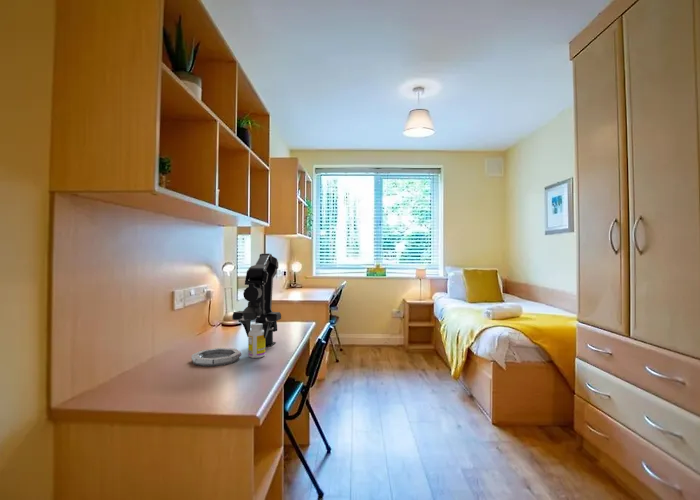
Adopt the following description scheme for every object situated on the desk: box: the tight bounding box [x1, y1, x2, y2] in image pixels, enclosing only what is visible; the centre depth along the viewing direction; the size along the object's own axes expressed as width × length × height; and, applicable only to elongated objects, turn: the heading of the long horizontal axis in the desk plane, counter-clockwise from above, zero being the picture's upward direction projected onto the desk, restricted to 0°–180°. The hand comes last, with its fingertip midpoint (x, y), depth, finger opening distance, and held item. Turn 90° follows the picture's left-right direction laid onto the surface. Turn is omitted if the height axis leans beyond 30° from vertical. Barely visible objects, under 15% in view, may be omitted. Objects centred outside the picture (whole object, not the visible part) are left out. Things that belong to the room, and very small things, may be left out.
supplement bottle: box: [247, 323, 266, 359], centre depth 153 cm, size 7×7×13 cm
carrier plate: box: [191, 347, 242, 367], centre depth 147 cm, size 17×17×2 cm
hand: (256, 337), depth 153 cm, fingers closed on supplement bottle, 7 cm apart
